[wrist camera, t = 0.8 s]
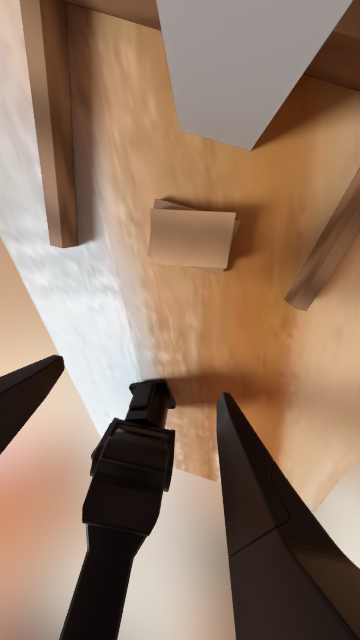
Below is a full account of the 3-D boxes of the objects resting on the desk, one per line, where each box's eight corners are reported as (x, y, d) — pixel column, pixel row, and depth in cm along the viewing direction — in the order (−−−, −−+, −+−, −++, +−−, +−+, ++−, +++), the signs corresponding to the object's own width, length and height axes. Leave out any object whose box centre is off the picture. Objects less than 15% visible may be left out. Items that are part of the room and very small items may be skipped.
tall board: (250, 150, 14) (429, -113, 3) (179, 130, 14) (115, -223, 3) (267, 97, 13) (698, -708, 2) (189, 74, 13) (131, -980, 2)
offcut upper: (223, 264, 18) (226, 268, 16) (156, 260, 18) (152, 263, 16) (232, 214, 15) (235, 212, 14) (155, 210, 16) (150, 208, 14)
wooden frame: (294, 302, 20) (309, 313, 17) (67, 243, 19) (46, 245, 16) (428, 81, 12) (494, 39, 9) (45, -37, 11) (-4, -121, 8)
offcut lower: (220, 271, 20) (222, 274, 18) (151, 253, 19) (147, 255, 18) (236, 221, 17) (240, 220, 16) (158, 201, 17) (154, 198, 15)
